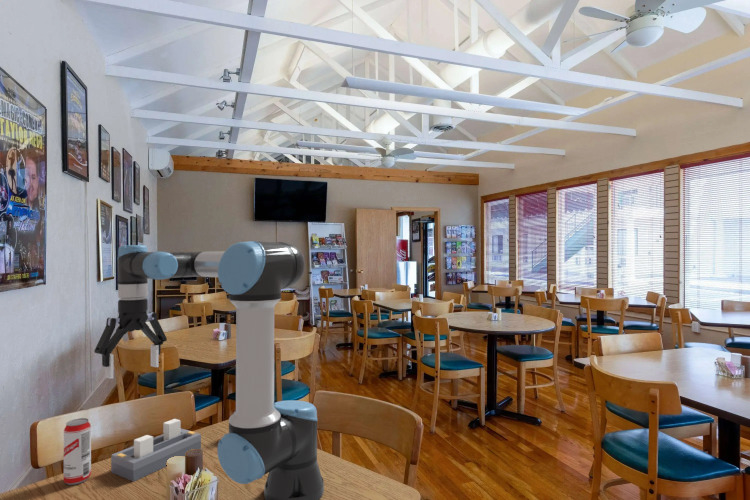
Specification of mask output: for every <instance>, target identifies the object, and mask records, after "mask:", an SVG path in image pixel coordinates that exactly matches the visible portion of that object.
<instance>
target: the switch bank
mask: <svg viewBox="0 0 750 500" xmlns="http://www.w3.org/2000/svg"><path fill="white" fill-rule="evenodd" d="M191 449H201V450H202V434H201V433H199V432H195V431H191V430H189V429H184V428H182V427H181V434H180V435H178V436H175V437H173V438H171V439H168V440H166V441H163V433H162V434H160V435H158V436H155V437H153V453H150V454H148V455H145V456H143V457H141V458H138V459H136V458H134V445H132V446H130V447H127V448H125V449H122V450H119V451H118V452H114V453H112V454H111V455H110V457H111V458H110V459H111V460H110V461H111V463H110V464H111V466H110V467H111V468H110V470H111V473H112V474H115V475H116V476H119V477H122V478H124V479H126V480H127V481H128V480H129V481H131V482H137V481H138V480H140V479H142V478H144V477H146V476H149V475H151V474H154V472H155V473H156V472H157V471H159V470H162V469H164V468H166V467H167V466H166V462H167V460H168V459H169V458H171V457H174V456H185V453H186V452H187V451H189V450H191Z"/></svg>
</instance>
